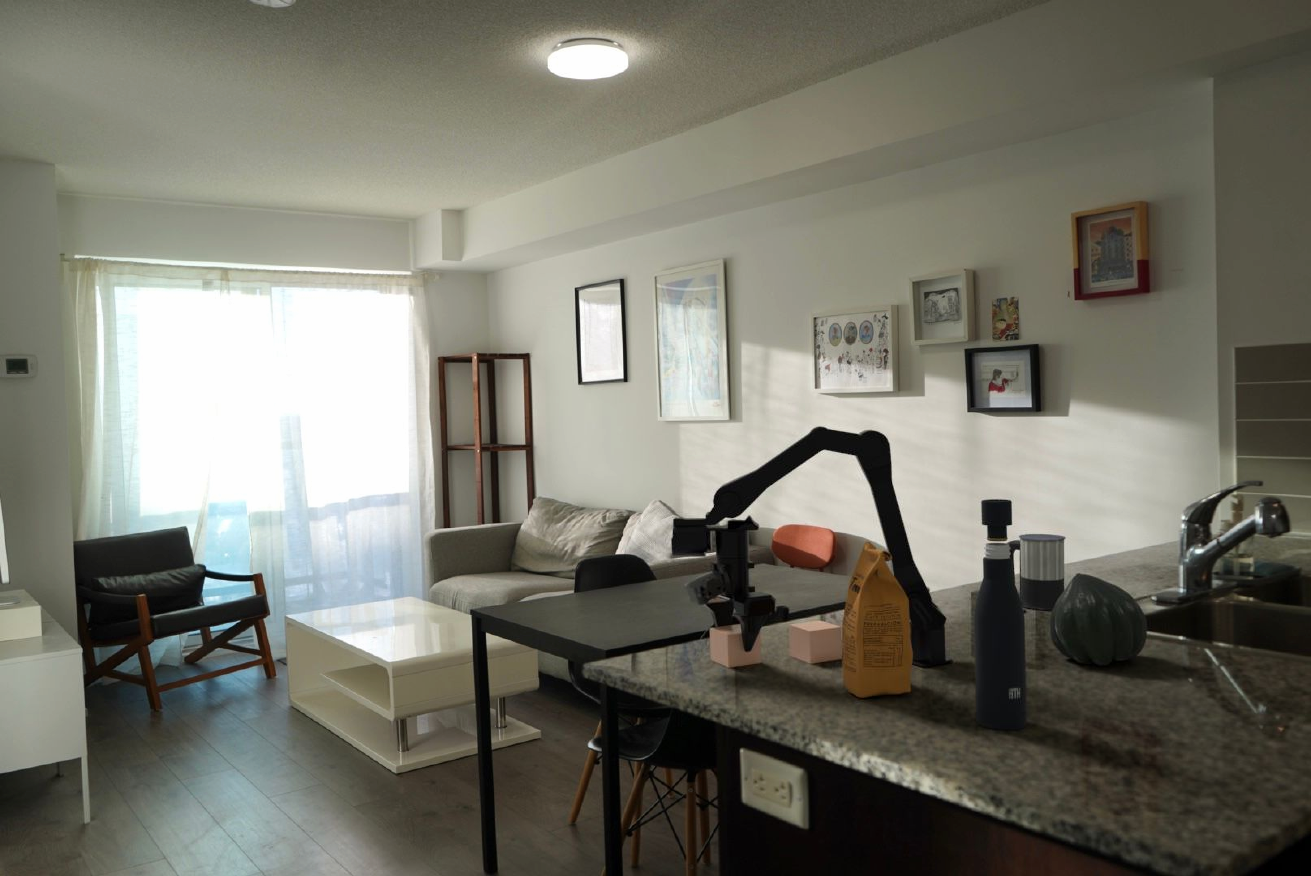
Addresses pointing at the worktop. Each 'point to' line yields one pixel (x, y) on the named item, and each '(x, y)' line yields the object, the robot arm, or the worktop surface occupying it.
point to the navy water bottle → (999, 630)
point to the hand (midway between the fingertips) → (735, 646)
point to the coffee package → (876, 629)
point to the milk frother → (1040, 569)
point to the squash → (1097, 622)
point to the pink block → (732, 647)
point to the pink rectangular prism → (815, 641)
